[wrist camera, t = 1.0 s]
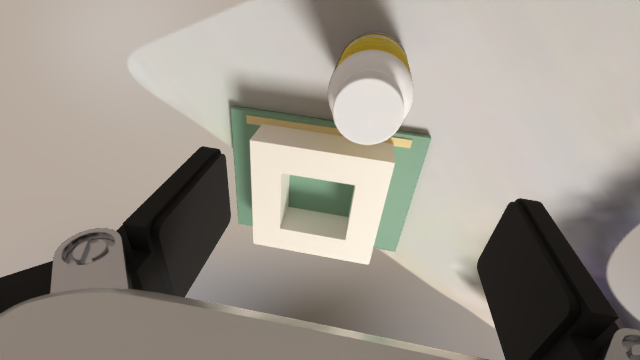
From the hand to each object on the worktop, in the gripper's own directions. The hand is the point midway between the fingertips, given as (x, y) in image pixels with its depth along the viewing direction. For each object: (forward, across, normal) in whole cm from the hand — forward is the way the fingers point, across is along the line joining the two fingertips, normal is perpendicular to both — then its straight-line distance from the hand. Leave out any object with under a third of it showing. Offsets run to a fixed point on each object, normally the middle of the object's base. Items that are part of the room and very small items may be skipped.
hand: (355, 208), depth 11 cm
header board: (+18, +3, +12) cm, 22 cm away
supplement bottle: (+18, 0, 0) cm, 18 cm away
